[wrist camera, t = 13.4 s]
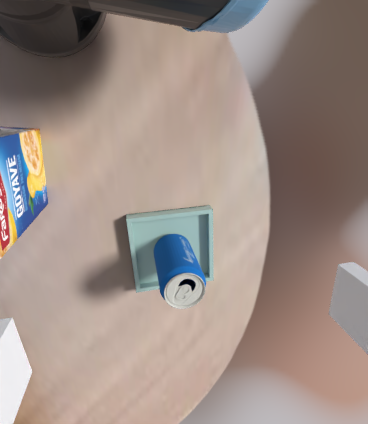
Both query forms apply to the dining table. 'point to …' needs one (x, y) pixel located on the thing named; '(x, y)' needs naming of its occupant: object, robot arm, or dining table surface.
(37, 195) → the beverage box
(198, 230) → the tray
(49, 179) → the dining table surface
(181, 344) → the dining table surface
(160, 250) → the beverage can
